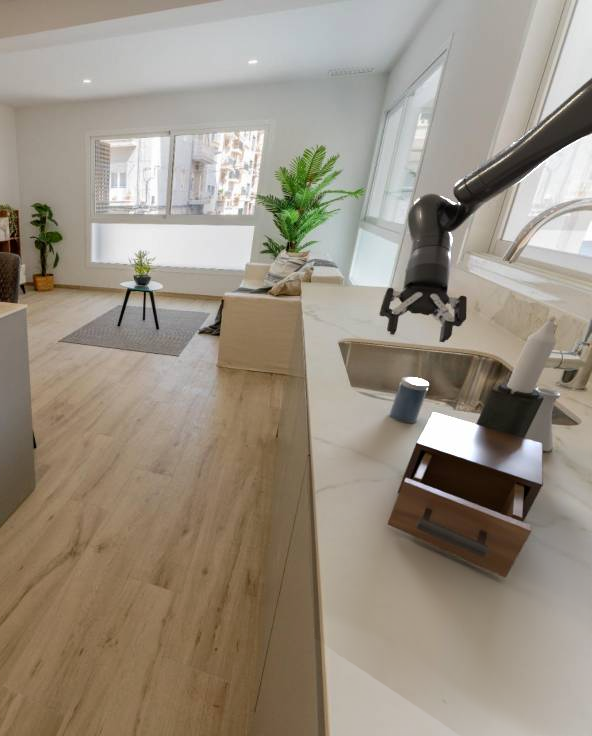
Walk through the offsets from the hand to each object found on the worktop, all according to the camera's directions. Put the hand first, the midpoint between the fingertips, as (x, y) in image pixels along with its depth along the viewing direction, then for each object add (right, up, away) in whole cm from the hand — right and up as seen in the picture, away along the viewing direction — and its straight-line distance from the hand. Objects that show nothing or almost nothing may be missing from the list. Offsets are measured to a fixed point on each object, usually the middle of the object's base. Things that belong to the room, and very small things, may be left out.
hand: (417, 336), depth 87 cm
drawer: (-22, -27, -33) cm, 49 cm away
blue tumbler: (-5, -16, -3) cm, 17 cm away
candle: (-2, -22, -17) cm, 28 cm away
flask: (+11, -20, -10) cm, 25 cm away
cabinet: (-13, -25, -25) cm, 37 cm away
